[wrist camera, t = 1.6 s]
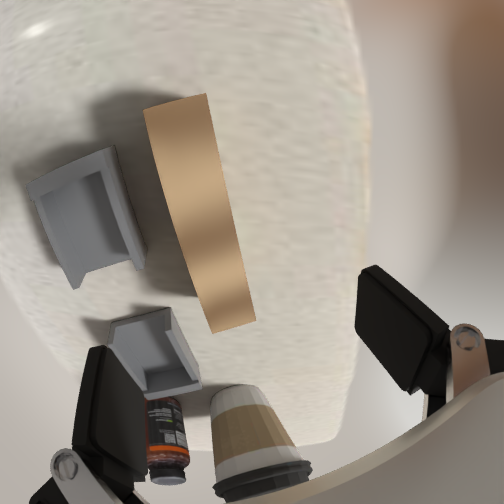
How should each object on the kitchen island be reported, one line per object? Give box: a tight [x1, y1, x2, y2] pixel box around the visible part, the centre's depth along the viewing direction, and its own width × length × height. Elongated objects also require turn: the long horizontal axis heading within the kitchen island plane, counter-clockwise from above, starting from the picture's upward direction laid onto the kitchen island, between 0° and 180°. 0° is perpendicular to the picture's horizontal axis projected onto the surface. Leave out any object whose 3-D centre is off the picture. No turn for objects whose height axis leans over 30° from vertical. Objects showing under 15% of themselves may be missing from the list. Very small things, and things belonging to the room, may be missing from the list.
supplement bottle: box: [145, 397, 190, 485], centre depth 25 cm, size 6×6×11 cm
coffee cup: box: [210, 385, 312, 503], centre depth 26 cm, size 11×11×15 cm
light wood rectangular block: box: [143, 93, 256, 334], centre depth 18 cm, size 16×4×5 cm, turn 11°
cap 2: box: [107, 307, 203, 400], centre depth 24 cm, size 9×6×3 cm
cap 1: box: [26, 145, 147, 290], centre depth 16 cm, size 9×6×3 cm
